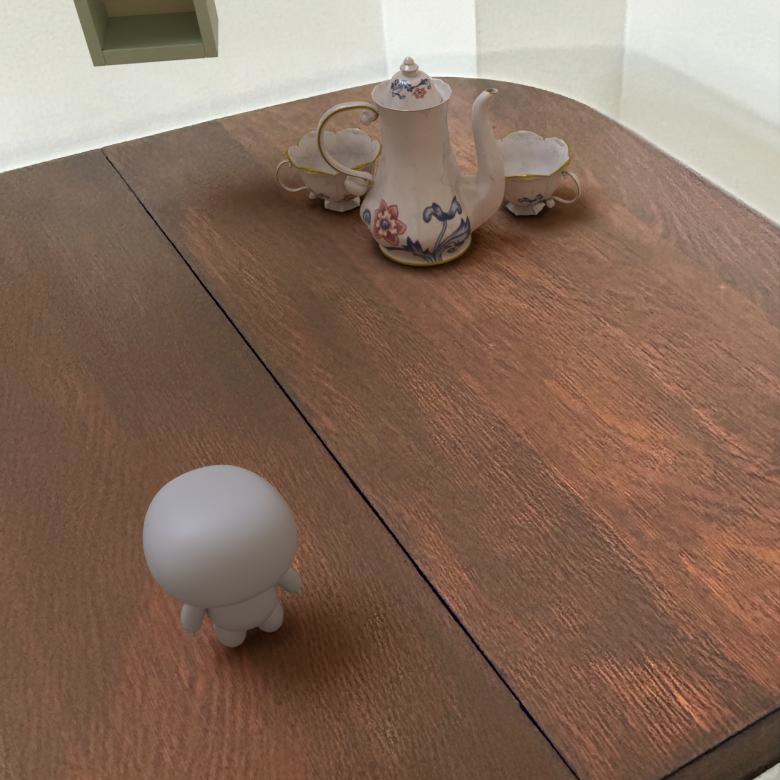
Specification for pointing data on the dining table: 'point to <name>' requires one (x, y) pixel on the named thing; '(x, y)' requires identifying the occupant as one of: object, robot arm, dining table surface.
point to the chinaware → (425, 169)
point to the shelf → (148, 30)
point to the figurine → (222, 549)
